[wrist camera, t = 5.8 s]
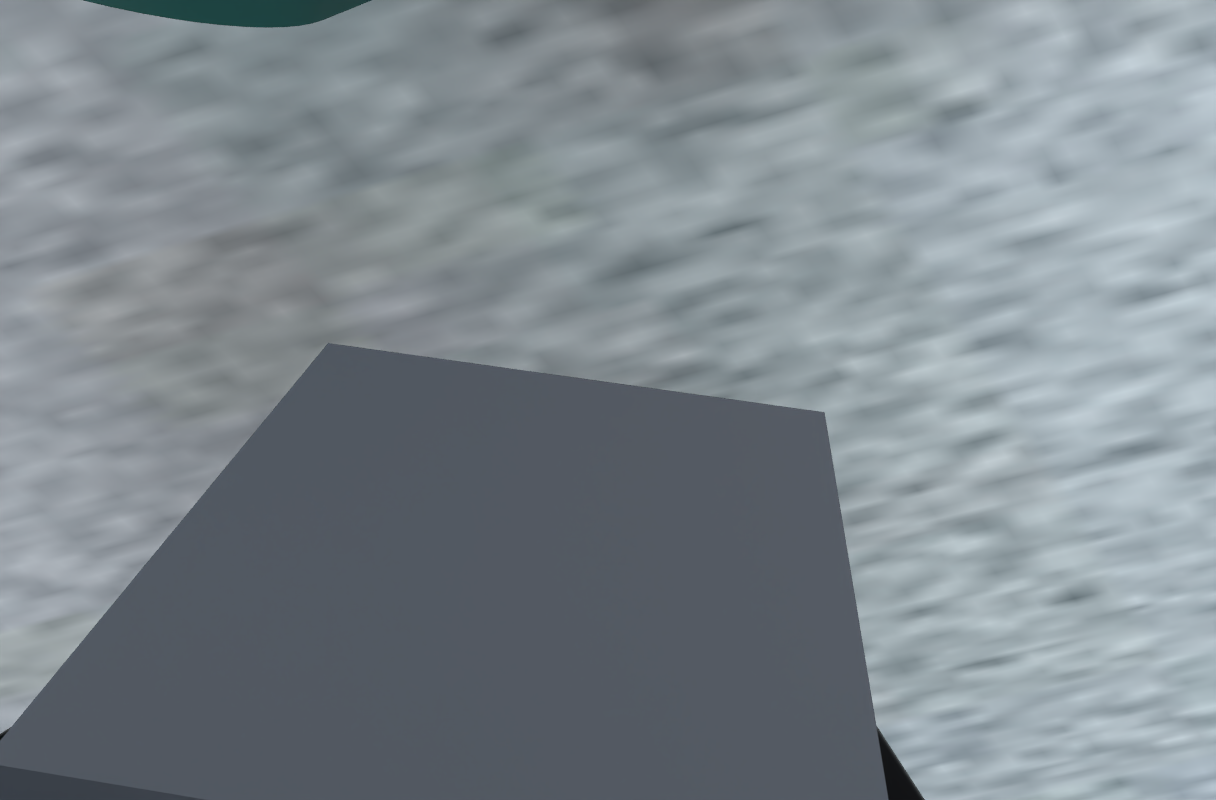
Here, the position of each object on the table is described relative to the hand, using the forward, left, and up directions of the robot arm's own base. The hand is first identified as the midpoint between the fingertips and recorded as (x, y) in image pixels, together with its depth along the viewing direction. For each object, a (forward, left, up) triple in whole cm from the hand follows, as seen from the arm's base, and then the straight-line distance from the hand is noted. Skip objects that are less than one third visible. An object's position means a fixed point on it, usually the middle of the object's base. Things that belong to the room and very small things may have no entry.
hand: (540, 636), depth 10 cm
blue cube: (0, 0, -1) cm, 1 cm away
